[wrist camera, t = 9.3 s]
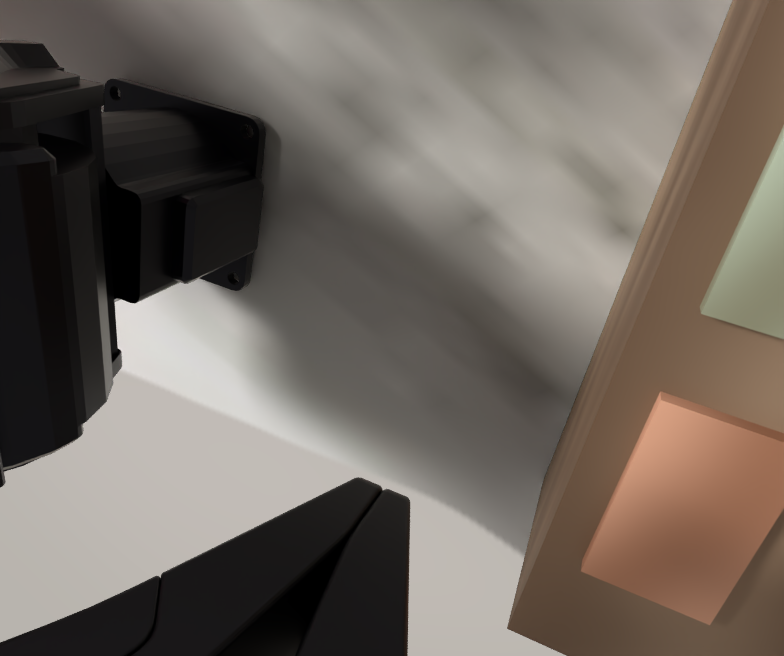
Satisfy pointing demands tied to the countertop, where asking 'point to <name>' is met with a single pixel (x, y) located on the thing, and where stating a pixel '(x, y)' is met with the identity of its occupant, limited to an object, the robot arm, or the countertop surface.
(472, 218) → the countertop surface
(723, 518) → the keypad console
